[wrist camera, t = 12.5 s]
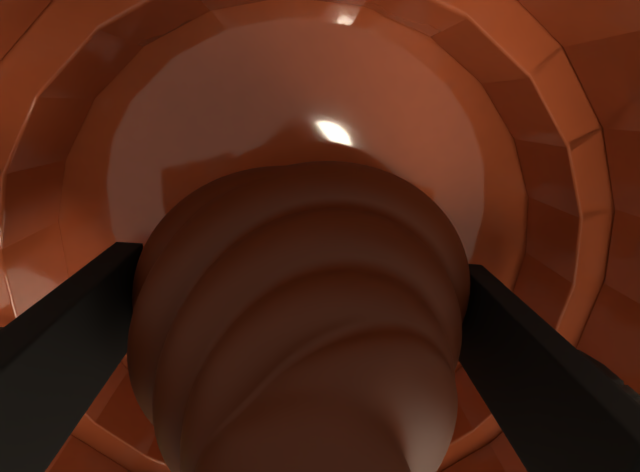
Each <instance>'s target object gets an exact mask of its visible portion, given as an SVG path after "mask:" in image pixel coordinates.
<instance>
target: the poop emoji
mask: <svg viewBox="0 0 640 472" xmlns="http://www.w3.org/2000/svg"><path fill="white" fill-rule="evenodd" d="M469 297H470V271H469V265H468V260H467V256H466V253H465V249H464V247H463V244H462V241H461V239H460V237H459V235H458V233H457V231H456V229H455V228H454V226H453V224H452V223H451V221H450V220H449V218H448V217H447V216H446V214H445V213H444V212H443V211H442V210H441V208H440V207H439V206H438V205H437V204H436V203H435V202H434V201H433V200H432V199H431V198H430V197H428V196H427V195H426V194H425V193H424V192H422V191H421V190H420V189H418V188H417V187H416V186H414V185H412V184H411V183H409V182H407V181H406V180H404V179H402V178H400V177H398V176H396V175H394V174H391V173H389V172H386V171H384V170H381V169H378V168H375V167H371V166H367V165H363V164H358V163H352V162H343V161H312V162H303V163H297V164H291V165H286V166H266V167H258V168H252V169H247V170H243V171H239V172H235V173H232V174H229V175H226V176H223V177H221V178H218V179H216V180H214V181H211V182H209V183H207V184H206V185H204V186H202V187H200V188H198V189H197V190H195V191H194V192H192V193H191V194H189V195H188V196H186V197H185V198H184V199H182V200H181V201H180V202H179V203H178V204H176V205H175V206H174V207H173V208H172V209H171V210H170V211H169V212H168V213H167V214H166V215H165V216H164V217H163V219H162V220H161V221H160V222H159V223H158V225H157V226H156V227H155V229H154V230H153V232H152V233H151V235H150V237H149V238H148V240H147V242H146V244H145V246H144V248H143V250H142V252H141V255H140V257H139V260H138V263H137V266H136V270H135V274H134V280H133V288H132V308H133V314H132V318H131V322H130V327H129V333H128V343H127V363H128V371H129V377H130V382H131V386H132V389H133V392H134V395H135V397H136V400H137V402H138V404H139V406H140V408H141V410H142V411H143V413H144V414H145V416H146V417H147V419H148V420H149V421H150V422H151V424H152V425H153V426H154V431H155V435H156V440H157V443H158V446H159V449H160V452H161V454H162V457H163V459H164V461H165V463H166V465H167V466H168V468H169V469H170V471H171V472H437V470H438V468H439V466H440V465H441V463H442V461H443V459H444V457H445V455H446V453H447V450H448V448H449V445H450V442H451V440H452V436H453V433H454V429H455V424H456V419H457V410H458V396H457V388H456V383H455V369H456V366H457V363H458V359H459V355H460V350H461V344H462V323H463V320H464V318H465V315H466V311H467V307H468V303H469Z"/></svg>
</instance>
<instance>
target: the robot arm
mask: <svg viewBox="0 0 640 472" xmlns="http://www.w3.org/2000/svg"><path fill="white" fill-rule="evenodd" d="M142 250H143V243H130V242H115V243H114V244H113V245H112V246H110V247H109V248H108V249H106V250H105V251H104V252H102V253H101V254H100V255H98V256H97V257H96V258H94V259H93V260H92V261H90V262H89V263H88V264H86V265H85V266H84V267H83V268H81V269H80V270H79V271H77V272H76V273H75V274H73V275H72V276H71V277H69V278H68V279H67V280H65V281H64V282H63V283H61V284H60V285H59V286H57V287H56V288H55V289H54V290H52V291H51V292H50V293H48V294H47V295H46V296H44V297H43V298H42V299H40V300H39V301H38V302H36V303H35V304H34V305H32V306H31V307H30V308H28V309H27V310H26V311H25V312H23V313H22V314H21V315H19V316H18V317H17V318H15V319H14V320H13V321H11V322H10V323H9V324H7V325H6V326H5V327H0V472H45V471H46V469H47V468H48V466H49V465H50V463H51V462H52V461H53V459H54V458H55V456H56V455H57V453H58V452H59V450H60V449H61V448H62V446H63V445H64V443H65V442H66V440H67V439H68V437H69V436H70V434H71V433H72V432H73V430H74V429H75V427H76V426H77V424H78V423H79V421H80V420H81V419H82V417H83V416H84V414H85V413H86V411H87V410H88V408H89V407H90V405H91V404H92V403H93V401H94V400H95V398H96V397H97V395H98V394H99V392H100V391H101V390H102V388H103V387H104V385H105V384H106V382H107V381H108V379H109V378H110V376H111V375H112V374H113V372H114V371H115V369H116V368H117V366H118V365H119V363H120V362H121V361H122V359H123V358H124V356H125V355H126V353H127V343H128V333H129V327H130V322H131V318H132V314H133V308H132V288H133V280H134V274H135V270H136V266H137V263H138V260H139V257H140V255H141V252H142ZM468 265H469V271H470V297H469V303H468V307H467V311H466V315H465V318H464V320H463V323H462V344H461V350H460V355H459V359H458V360H459V362H460V363H461V365H462V367H463V368H464V370H465V371H466V373H467V375H468V376H469V378H470V380H471V381H472V383H473V384H474V386H475V388H476V389H477V391H478V392H479V394H480V396H481V397H482V399H483V401H484V402H485V404H486V405H487V407H488V409H489V410H490V412H491V413H492V415H493V417H494V418H495V420H496V422H497V423H498V425H499V426H500V428H501V430H502V431H503V433H504V434H505V436H506V438H507V439H508V441H509V443H510V444H511V446H512V447H513V449H514V451H515V452H516V454H517V455H518V457H519V459H520V460H521V462H522V464H523V465H524V467H525V468H526V470H527V472H640V395H639V394H638V393H637V392H636V391H634V390H633V389H632V388H631V387H630V386H629V385H624V381H623V380H622V379H620V378H619V377H618V376H617V375H616V374H615V373H613V372H612V371H611V370H610V369H609V368H608V367H606V366H605V365H604V364H602V363H601V362H599V361H597V360H596V359H594V358H592V357H591V356H589V355H587V354H586V353H584V352H582V351H581V350H577V349H576V348H575V347H574V346H573V345H572V344H571V343H570V342H568V341H567V340H566V339H565V338H564V337H563V336H562V335H560V334H559V333H558V332H557V331H556V330H555V329H554V328H553V327H551V326H550V325H549V324H548V323H547V322H546V321H545V320H544V319H542V318H541V317H540V316H539V315H538V314H537V313H536V312H534V311H533V310H532V309H531V308H530V307H529V306H528V305H527V304H525V303H524V302H523V301H522V300H521V299H520V298H519V297H518V296H516V295H515V294H514V293H513V292H512V291H511V290H510V289H509V288H507V287H506V286H505V285H504V284H503V283H502V282H501V281H499V280H498V279H497V278H496V277H495V276H494V275H493V274H492V273H490V272H489V271H488V270H487V269H486V268H485V267H484V266H483V265H479V264H468Z"/></svg>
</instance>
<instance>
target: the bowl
mask: <svg viewBox="0 0 640 472" xmlns="http://www.w3.org/2000/svg"><path fill="white" fill-rule="evenodd" d="M312 161H343V162H352V163H358V164H363V165H367V166H371V167H375V168H378V169H381V170H384V171H386V172H389V173H391V174H394V175H396V176H398V177H400V178H402V179H404V180H406V181H407V182H409V183H411V184H412V185H414V186H416V187H417V188H418V189H420V190H421V191H422V192H424V193H425V194H426V195H427V196H428V197H430V198H431V199H432V200H433V201H434V202H435V203H436V204H437V205H438V206H439V207H440V208H441V210H442V211H443V212H444V213H445V214H446V216H447V217H448V218H449V220H450V221H451V223H452V224H453V226H454V228H455V229H456V231H457V233H458V235H459V237H460V239H461V241H462V244H463V247H464V249H465V253H466V256H467V260H468V264H479V265H483V266H484V267H485V268H486V269H487V270H488V271H489V272H490V273H492V274H493V275H494V276H495V277H496V278H497V279H498V280H499V281H501V282H502V283H503V284H504V285H505V286H506V287H507V288H509V289H510V290H511V291H512V292H513V293H514V294H515V295H516V296H518V297H519V298H520V299H521V300H522V301H523V302H524V303H525V304H527V305H528V306H529V307H530V308H531V309H532V310H533V311H534V312H536V313H537V314H538V315H539V316H540V317H541V318H542V319H544V320H545V321H546V322H547V323H548V324H549V325H550V326H551V327H553V328H554V329H555V330H556V331H557V332H558V333H559V334H560V335H562V336H563V337H564V338H565V339H566V340H567V341H568V342H570V343H571V344H572V345H573V346H574V347H575V348H576V349H577V350H581V351H582V352H584V353H586V354H587V355H589V356H591V357H592V358H594V359H596V360H597V361H599V362H601V363H602V364H604V365H605V366H606V367H608V368H609V369H610V370H611V371H612V372H613V373H615V374H616V375H617V376H618V377H619V378H620V379H622V380H623V381H624V385H629V386H630V387H631V388H632V389H633V390H634V391H636V392H637V393H638V394H639V395H640V0H0V327H5V326H6V325H7V324H9V323H10V322H11V321H13V320H14V319H15V318H17V317H18V316H19V315H21V314H22V313H23V312H25V311H26V310H27V309H28V308H30V307H31V306H32V305H34V304H35V303H36V302H38V301H39V300H40V299H42V298H43V297H44V296H46V295H47V294H48V293H50V292H51V291H52V290H54V289H55V288H56V287H57V286H59V285H60V284H61V283H63V282H64V281H65V280H67V279H68V278H69V277H71V276H72V275H73V274H75V273H76V272H77V271H79V270H80V269H81V268H83V267H84V266H85V265H86V264H88V263H89V262H90V261H92V260H93V259H94V258H96V257H97V256H98V255H100V254H101V253H102V252H104V251H105V250H106V249H108V248H109V247H110V246H112V245H113V244H114V243H115V242H130V243H143V248H144V246H145V244H146V242H147V240H148V238H149V237H150V235H151V233H152V232H153V230H154V229H155V227H156V226H157V225H158V223H159V222H160V221H161V220H162V219H163V217H164V216H165V215H166V214H167V213H168V212H169V211H170V210H171V209H172V208H173V207H174V206H175V205H176V204H178V203H179V202H180V201H181V200H182V199H184V198H185V197H186V196H188V195H189V194H191V193H192V192H194V191H195V190H197V189H198V188H200V187H202V186H204V185H206V184H207V183H209V182H211V181H214V180H216V179H218V178H221V177H223V176H226V175H229V174H232V173H235V172H239V171H243V170H247V169H252V168H258V167H266V166H286V165H291V164H297V163H303V162H312ZM455 383H456V388H457V396H458V410H457V419H456V424H455V429H454V433H453V436H452V440H451V442H450V445H449V448H448V450H447V453H446V455H445V457H444V459H443V461H442V463H441V465H440V466H439V468H438V470H437V472H527V470H526V468H525V467H524V465H523V464H522V462H521V460H520V459H519V457H518V455H517V454H516V452H515V451H514V449H513V447H512V446H511V444H510V443H509V441H508V439H507V438H506V436H505V434H504V433H503V431H502V430H501V428H500V426H499V425H498V423H497V422H496V420H495V418H494V417H493V415H492V413H491V412H490V410H489V409H488V407H487V405H486V404H485V402H484V401H483V399H482V397H481V396H480V394H479V392H478V391H477V389H476V388H475V386H474V384H473V383H472V381H471V380H470V378H469V376H468V375H467V373H466V371H465V370H464V368H463V367H462V365H461V363H460V362H459V360H458V363H457V366H456V369H455ZM45 472H171V471H170V469H169V468H168V466H167V465H166V463H165V461H164V459H163V457H162V454H161V452H160V449H159V446H158V443H157V440H156V435H155V431H154V426H153V425H152V424H151V422H150V421H149V420H148V419H147V417H146V416H145V414H144V413H143V411H142V410H141V408H140V406H139V404H138V402H137V400H136V397H135V395H134V392H133V389H132V386H131V382H130V377H129V371H128V363H127V353H126V355H125V356H124V358H123V359H122V361H121V362H120V363H119V365H118V366H117V368H116V369H115V371H114V372H113V374H112V375H111V376H110V378H109V379H108V381H107V382H106V384H105V385H104V387H103V388H102V390H101V391H100V392H99V394H98V395H97V397H96V398H95V400H94V401H93V403H92V404H91V405H90V407H89V408H88V410H87V411H86V413H85V414H84V416H83V417H82V419H81V420H80V421H79V423H78V424H77V426H76V427H75V429H74V430H73V432H72V433H71V434H70V436H69V437H68V439H67V440H66V442H65V443H64V445H63V446H62V448H61V449H60V450H59V452H58V453H57V455H56V456H55V458H54V459H53V461H52V462H51V463H50V465H49V466H48V468H47V469H46V471H45Z"/></svg>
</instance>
